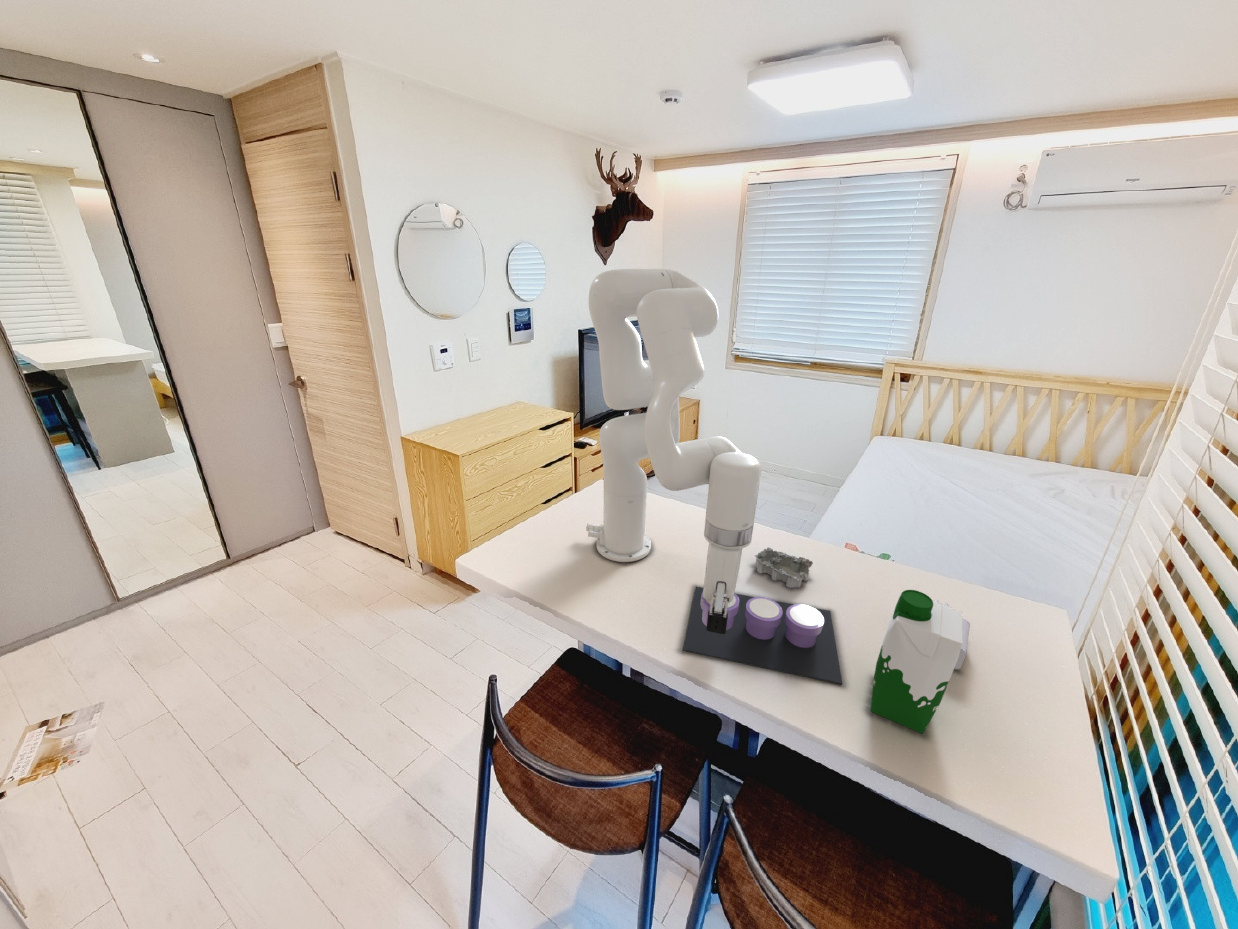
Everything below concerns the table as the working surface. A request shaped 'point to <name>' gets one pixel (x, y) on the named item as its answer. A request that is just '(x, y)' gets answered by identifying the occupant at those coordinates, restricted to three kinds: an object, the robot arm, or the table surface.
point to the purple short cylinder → (731, 608)
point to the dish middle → (762, 617)
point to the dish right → (803, 625)
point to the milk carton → (916, 660)
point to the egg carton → (783, 567)
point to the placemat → (765, 644)
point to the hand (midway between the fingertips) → (717, 616)
